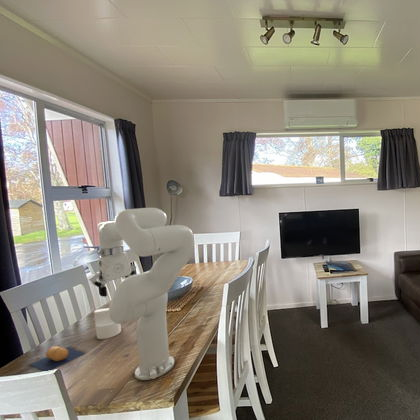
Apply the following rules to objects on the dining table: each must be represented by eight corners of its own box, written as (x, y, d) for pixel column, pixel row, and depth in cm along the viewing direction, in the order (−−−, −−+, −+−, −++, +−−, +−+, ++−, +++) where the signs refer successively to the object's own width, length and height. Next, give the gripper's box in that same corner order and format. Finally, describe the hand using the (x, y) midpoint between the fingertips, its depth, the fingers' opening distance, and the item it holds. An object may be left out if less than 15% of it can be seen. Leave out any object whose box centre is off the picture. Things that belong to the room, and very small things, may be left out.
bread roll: (71, 357, 109) (70, 347, 108) (57, 365, 105) (55, 354, 104) (58, 352, 112) (57, 342, 112) (44, 359, 108) (42, 349, 108)
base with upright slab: (123, 327, 133) (121, 303, 132) (117, 336, 124) (114, 311, 123) (101, 331, 129) (99, 307, 128) (93, 340, 121) (90, 315, 120)
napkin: (84, 353, 112) (84, 353, 112) (46, 372, 101) (46, 371, 101) (68, 347, 116) (68, 347, 116) (30, 365, 105) (29, 364, 105)
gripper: (93, 256, 101) (98, 300, 103) (139, 247, 118) (143, 285, 119) (81, 256, 104) (86, 298, 105) (127, 246, 120) (131, 283, 121)
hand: (116, 291), depth 112 cm, fingers open, 9 cm apart
